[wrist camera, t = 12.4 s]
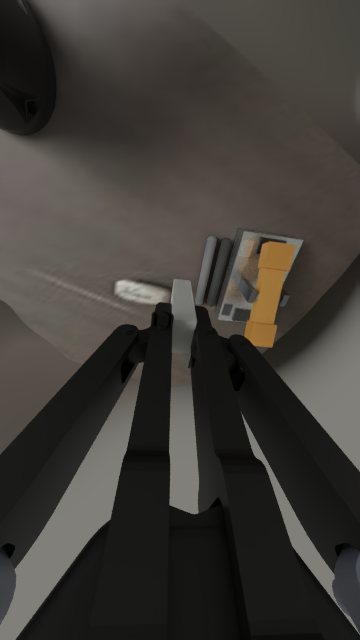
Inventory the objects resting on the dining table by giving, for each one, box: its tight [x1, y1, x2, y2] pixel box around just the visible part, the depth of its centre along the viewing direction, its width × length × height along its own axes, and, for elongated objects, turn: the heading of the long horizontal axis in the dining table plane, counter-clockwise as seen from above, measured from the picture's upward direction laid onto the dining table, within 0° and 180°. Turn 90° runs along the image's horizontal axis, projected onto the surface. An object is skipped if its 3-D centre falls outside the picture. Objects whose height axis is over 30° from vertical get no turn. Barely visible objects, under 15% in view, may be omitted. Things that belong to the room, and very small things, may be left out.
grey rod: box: [195, 236, 217, 305], centre depth 42 cm, size 16×2×2 cm, turn 172°
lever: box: [244, 241, 296, 347], centre depth 35 cm, size 19×5×3 cm, turn 172°
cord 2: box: [207, 238, 231, 306], centre depth 42 cm, size 16×2×2 cm, turn 172°
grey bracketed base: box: [215, 228, 304, 323], centre depth 39 cm, size 20×12×11 cm, turn 172°
